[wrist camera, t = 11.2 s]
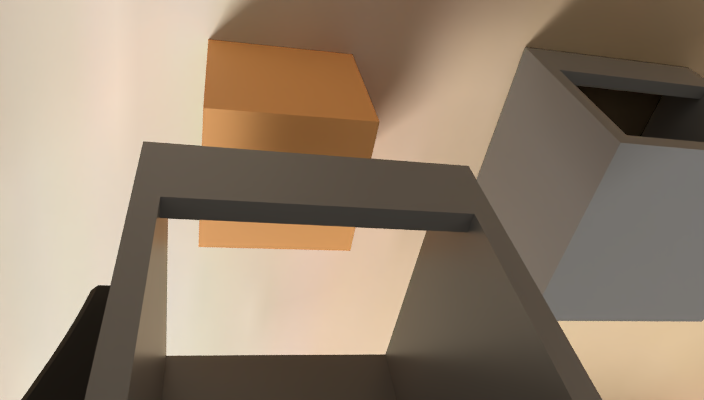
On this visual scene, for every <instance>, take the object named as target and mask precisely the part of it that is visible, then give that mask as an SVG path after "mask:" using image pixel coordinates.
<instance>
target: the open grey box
mask: <svg viewBox="0 0 704 400" xmlns="http://www.w3.org/2000/svg"><path fill="white" fill-rule="evenodd" d="M168 218H170V219H191V220H213V221H234V222H255V223H277V224H298V225H319V226H341V227H362V228H384V229H405V230H426V234H425V237H424V240H423V243H422V246H421V249H420V252H419V255H418V258H417V261H416V264H415V267H414V271H413V274H412V277H411V280H410V283H409V286H408V289H407V292H406V295H405V298H404V301H403V304H402V307H401V310H400V313H399V316H398V319H397V322H396V325H395V328H394V331H393V334H392V337H391V340H390V343H389V346H388V349H387V352H386V355H230V356H166V320H167V240H168ZM84 400H602V399H601V397H600V395H599V393H598V392H597V390H596V388H595V386H594V385H593V383H592V381H591V379H590V378H589V376H588V374H587V372H586V371H585V369H584V367H583V365H582V364H581V362H580V360H579V358H578V357H577V355H576V353H575V351H574V350H573V348H572V346H571V344H570V343H569V341H568V339H567V337H566V336H565V334H564V332H563V330H562V329H561V327H560V325H559V323H558V322H557V320H556V318H555V316H554V315H553V313H552V311H551V309H550V308H549V306H548V304H547V303H546V301H545V299H544V297H543V296H542V294H541V292H540V290H539V289H538V287H537V285H536V283H535V282H534V280H533V278H532V276H531V275H530V273H529V271H528V269H527V268H526V266H525V264H524V262H523V261H522V259H521V257H520V255H519V254H518V252H517V250H516V248H515V247H514V245H513V243H512V241H511V240H510V238H509V236H508V234H507V233H506V231H505V229H504V227H503V226H502V224H501V222H500V220H499V219H498V217H497V215H496V213H495V212H494V210H493V208H492V206H491V205H490V203H489V201H488V199H487V198H486V196H485V194H484V192H483V191H482V189H481V187H480V185H479V184H478V182H477V180H476V178H475V177H474V175H473V173H472V171H471V170H470V168H469V166H461V165H447V164H434V163H421V162H408V161H395V160H381V159H368V158H355V157H342V156H328V155H315V154H302V153H289V152H275V151H262V150H249V149H236V148H222V147H209V146H196V145H183V144H170V143H156V142H143V145H142V150H141V154H140V159H139V163H138V167H137V172H136V176H135V180H134V185H133V189H132V194H131V198H130V202H129V207H128V211H127V215H126V220H125V224H124V229H123V233H122V237H121V242H120V246H119V250H118V255H117V259H116V264H115V268H114V272H113V277H112V281H111V286H110V290H109V294H108V299H107V303H106V307H105V312H104V316H103V321H102V325H101V329H100V334H99V338H98V342H97V347H96V351H95V356H94V360H93V364H92V369H91V373H90V377H89V382H88V386H87V391H86V395H85V399H84Z"/></svg>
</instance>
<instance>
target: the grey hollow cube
mask: <svg viewBox="0 0 704 400" xmlns="http://www.w3.org/2000/svg"><path fill="white" fill-rule="evenodd" d="M575 85H577V86H586V87H595V88H604V89H613V90H622V91H631V92H640V93H649V94H658V95H662V97H661V99H660V101H659V103H658V105H657V107H656V108H655V110H654V112H653V114H652V116H651V118H650V120H649V122H648V124H647V125H646V127H645V129H644V131H643V133H642V135H641V136H630V135H626V134H625V133H624V132H623V131H622V130H621V129H620V128H619V127H618V126H617V125H616V124H614V123H613V122H612V121H611V120H610V119H609V118H608V117H607V116H606V115H605V114H604V113H603V112H602V111H601V110H600V109H599V108H598V107H597V106H596V105H595V104H594V103H593V102H592V101H591V100H590V99H589V98H588V97H587V96H586V95H585V94H584V93H583V92H581V91H580V90H579V89H578V88H577V87H576V86H575ZM477 182H478V184H479V185H480V187H481V189H482V191H483V192H484V194H485V196H486V198H487V199H488V201H489V203H490V205H491V206H492V208H493V210H494V212H495V213H496V215H497V217H498V219H499V220H500V222H501V224H502V226H503V227H504V229H505V231H506V233H507V234H508V236H509V238H510V240H511V241H512V243H513V245H514V247H515V248H516V250H517V252H518V254H519V255H520V257H521V259H522V261H523V262H524V264H525V266H526V268H527V269H528V271H529V273H530V275H531V276H532V278H533V280H534V282H535V283H536V285H537V287H538V289H539V290H540V292H541V294H542V296H543V297H544V299H545V301H546V303H547V304H548V306H549V308H550V309H551V311H552V313H553V315H554V316H555V318H556V320H557V321H703V319H704V78H702V77H701V76H700V75H698V74H697V73H695V72H694V71H692V70H691V69H689V68H687V67H679V66H671V65H663V64H655V63H647V62H639V61H631V60H623V59H615V58H607V57H599V56H591V55H583V54H576V53H568V52H560V51H552V50H544V49H536V48H528V47H525V49H524V52H523V55H522V57H521V60H520V63H519V65H518V68H517V71H516V74H515V76H514V79H513V82H512V85H511V87H510V90H509V93H508V96H507V98H506V101H505V104H504V106H503V109H502V112H501V115H500V117H499V120H498V123H497V126H496V128H495V131H494V134H493V137H492V139H491V142H490V145H489V147H488V150H487V153H486V156H485V158H484V161H483V164H482V167H481V169H480V172H479V175H478V178H477Z"/></svg>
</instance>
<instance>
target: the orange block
mask: <svg viewBox="0 0 704 400" xmlns="http://www.w3.org/2000/svg"><path fill="white" fill-rule="evenodd" d="M378 126H379V119H378V117H377V115H376V112H375V110H374V107H373V105H372V102H371V100H370V97H369V95H368V92H367V90H366V87H365V85H364V82H363V80H362V77H361V75H360V72H359V70H358V67H357V65H356V62H355V60H354V57H353V55H352V54H344V53H334V52H325V51H315V50H306V49H296V48H287V47H277V46H268V45H258V44H249V43H239V42H230V41H220V40H211V39H208V53H207V66H206V80H205V93H204V106H203V133H202V146H209V147H222V148H236V149H249V150H262V151H275V152H289V153H302V154H315V155H328V156H342V157H355V158H368V159H371V156H372V152H373V148H374V143H375V139H376V134H377V130H378ZM354 231H355V227H341V226H319V225H298V224H277V223H255V222H234V221H213V220H200V221H199V247H226V248H266V249H306V250H346V251H350V249H351V244H352V240H353V236H354Z"/></svg>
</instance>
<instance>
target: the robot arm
mask: <svg viewBox="0 0 704 400" xmlns="http://www.w3.org/2000/svg"><path fill="white" fill-rule="evenodd" d="M109 290H110V286H103V285H98V286H97V287H95V288H94V289H92V290H91V292H90V294H89V296H88V297H87V299H86V301H85V303H84V305H83V307H82V309H81V310H80V312H79V314H78V316H77V317H76V319H75V321H74V322H73V324H72V326H71V327H70V329H69V331H68V332H67V334H66V335H65V337H64V338H63V340H62V342H61V343H60V345H59V346H58V348H57V349H56V351H55V352H54V354H53V355H52V357H51V358H50V360H49V361H48V363H47V364H46V365H45V367H44V368H43V370H42V371H41V373H40V374H39V375H38V377H37V378H36V380H35V381H34V383H33V384H32V385H31V387H30V388H29V390H28V391H27V393H26V394H25V395H24V397H23V398H22V399H21V400H84V399H85V395H86V391H87V386H88V382H89V377H90V373H91V369H92V364H93V360H94V356H95V351H96V347H97V342H98V338H99V334H100V329H101V325H102V321H103V316H104V312H105V307H106V303H107V299H108V294H109Z"/></svg>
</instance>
